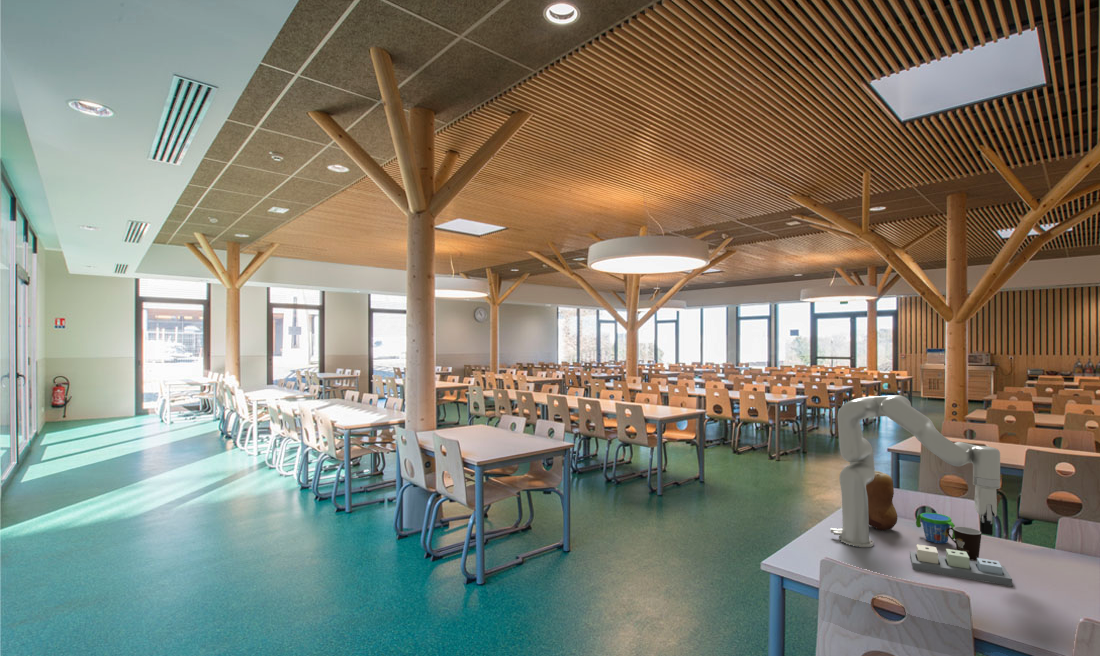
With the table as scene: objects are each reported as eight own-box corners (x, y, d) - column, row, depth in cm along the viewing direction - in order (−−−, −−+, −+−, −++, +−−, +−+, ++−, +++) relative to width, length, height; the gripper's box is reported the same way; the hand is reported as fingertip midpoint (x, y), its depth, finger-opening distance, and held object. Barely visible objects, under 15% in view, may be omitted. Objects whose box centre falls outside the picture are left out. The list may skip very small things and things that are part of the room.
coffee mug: (987, 561, 199) (986, 535, 200) (961, 560, 201) (960, 533, 201) (969, 549, 211) (968, 524, 211) (945, 548, 212) (944, 523, 213)
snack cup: (909, 535, 227) (908, 511, 227) (929, 533, 229) (928, 509, 229) (943, 549, 211) (942, 523, 212) (965, 546, 214) (964, 521, 214)
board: (912, 569, 194) (912, 562, 194) (909, 557, 204) (909, 551, 204) (1012, 586, 180) (1012, 578, 180) (1003, 572, 190) (1003, 565, 190)
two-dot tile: (948, 565, 191) (948, 553, 191) (946, 559, 196) (945, 548, 196) (969, 569, 188) (969, 557, 188) (966, 562, 193) (966, 551, 193)
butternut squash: (900, 528, 235) (899, 471, 236) (894, 536, 226) (892, 477, 226) (865, 521, 245) (864, 466, 246) (857, 528, 235) (856, 472, 236)
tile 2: (980, 575, 186) (980, 563, 186) (977, 568, 191) (976, 557, 192) (1002, 579, 183) (1002, 566, 183) (998, 572, 188) (998, 560, 189)
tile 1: (918, 560, 195) (918, 549, 195) (916, 554, 201) (916, 543, 201) (938, 563, 192) (938, 552, 192) (936, 558, 198) (935, 546, 198)
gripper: (969, 475, 197) (969, 525, 197) (977, 485, 184) (977, 538, 184) (995, 478, 193) (995, 528, 193) (1005, 488, 180) (1005, 543, 180)
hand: (986, 533), depth 188 cm, fingers closed
